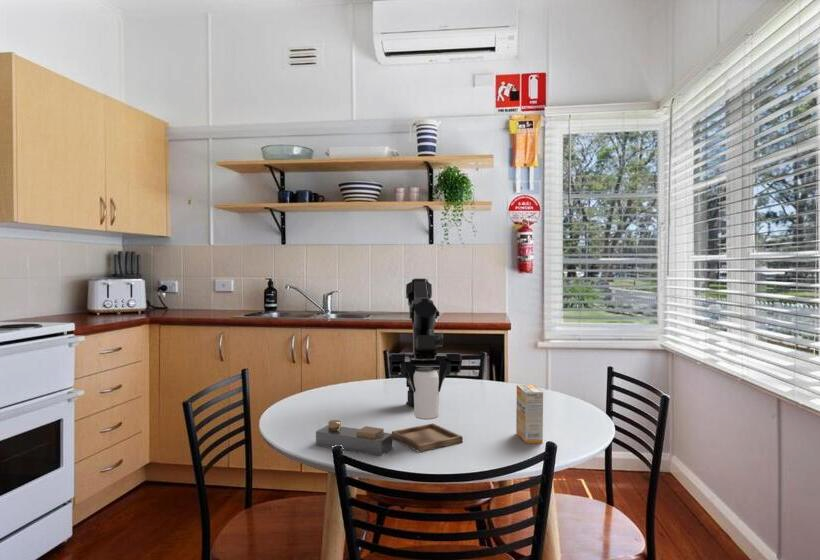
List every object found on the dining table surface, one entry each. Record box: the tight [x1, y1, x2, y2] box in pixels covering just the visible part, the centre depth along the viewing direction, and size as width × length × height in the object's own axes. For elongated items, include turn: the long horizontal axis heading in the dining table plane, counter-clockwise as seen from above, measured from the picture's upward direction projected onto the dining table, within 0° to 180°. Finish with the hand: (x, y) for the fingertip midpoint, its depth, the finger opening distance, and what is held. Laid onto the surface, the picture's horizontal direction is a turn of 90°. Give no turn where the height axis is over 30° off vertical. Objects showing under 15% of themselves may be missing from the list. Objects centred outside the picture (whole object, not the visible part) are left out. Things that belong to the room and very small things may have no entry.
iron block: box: [315, 419, 393, 457], centre depth 130 cm, size 18×6×6 cm, turn 67°
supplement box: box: [515, 384, 544, 444], centre depth 137 cm, size 8×5×13 cm, turn 5°
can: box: [413, 367, 441, 420], centre depth 136 cm, size 6×6×12 cm
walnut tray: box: [391, 423, 464, 453], centre depth 136 cm, size 13×13×2 cm
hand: (427, 391), depth 134 cm, fingers closed on can, 6 cm apart
